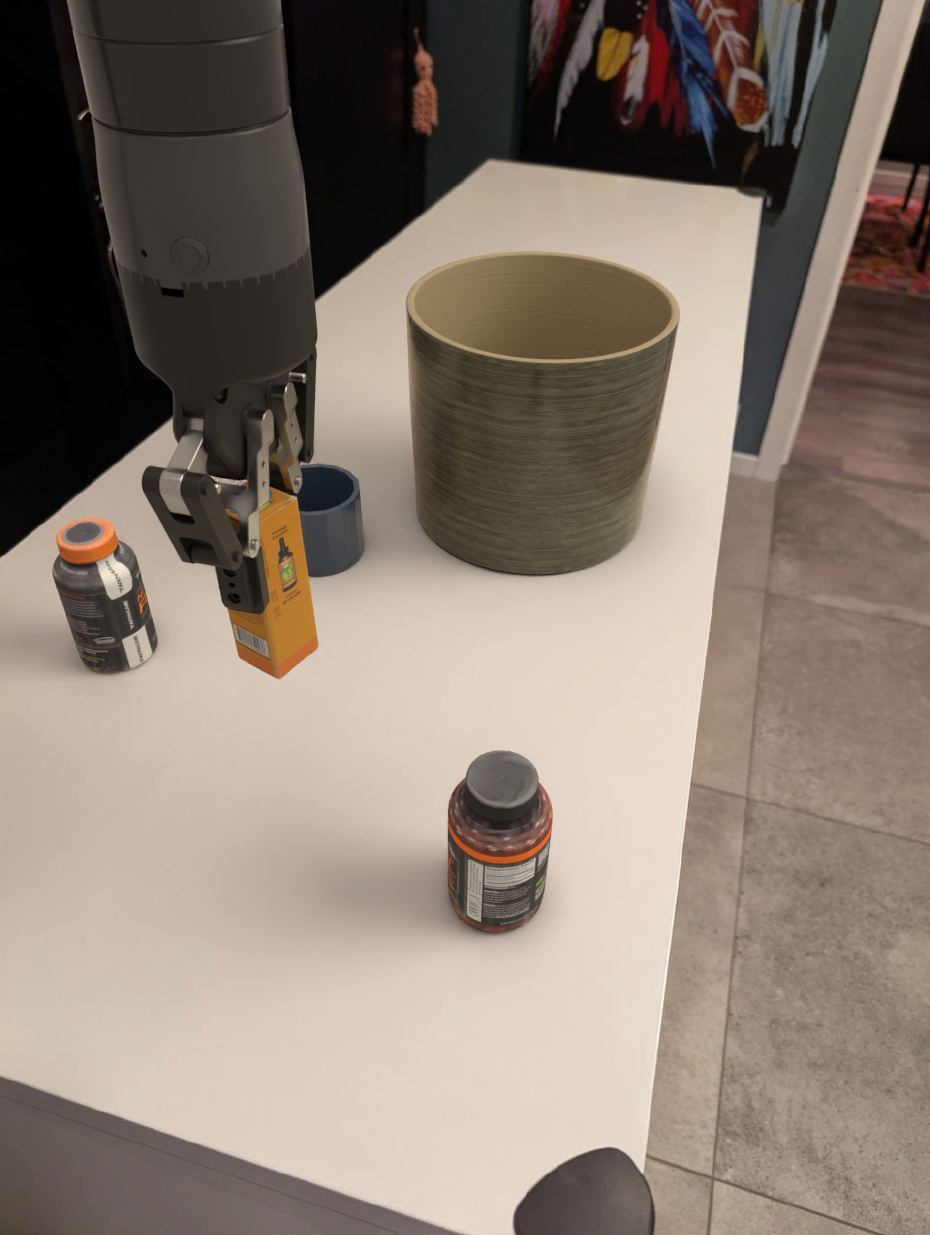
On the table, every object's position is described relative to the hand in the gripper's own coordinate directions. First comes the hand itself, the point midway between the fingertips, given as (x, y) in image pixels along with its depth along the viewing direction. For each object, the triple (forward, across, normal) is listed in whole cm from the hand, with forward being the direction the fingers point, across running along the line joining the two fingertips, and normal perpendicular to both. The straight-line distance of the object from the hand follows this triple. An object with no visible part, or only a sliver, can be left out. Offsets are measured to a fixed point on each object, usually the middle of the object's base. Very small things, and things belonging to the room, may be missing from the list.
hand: (264, 578), depth 49 cm
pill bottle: (+21, -13, -20) cm, 32 cm away
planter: (+21, -40, +7) cm, 46 cm away
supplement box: (+5, 0, 0) cm, 5 cm away
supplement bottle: (+21, +2, +13) cm, 25 cm away
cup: (+21, -29, -9) cm, 37 cm away
